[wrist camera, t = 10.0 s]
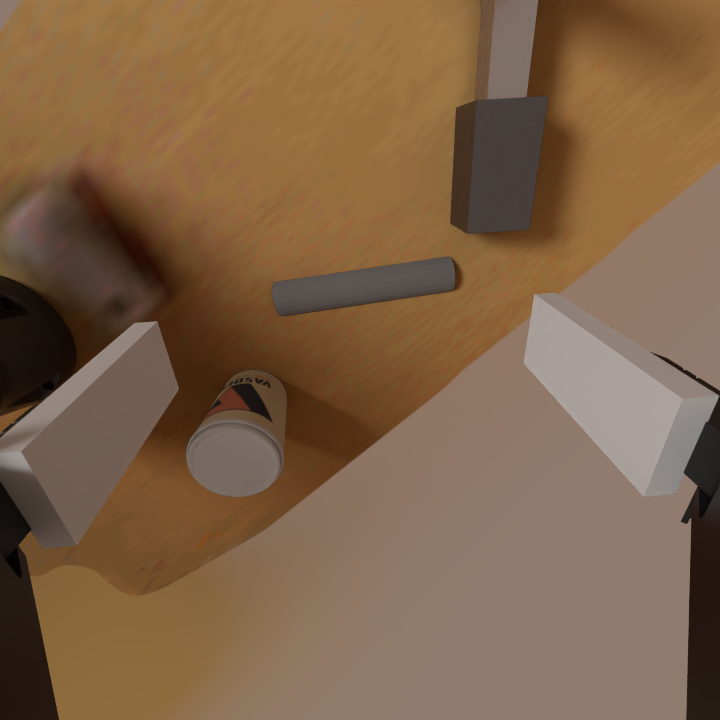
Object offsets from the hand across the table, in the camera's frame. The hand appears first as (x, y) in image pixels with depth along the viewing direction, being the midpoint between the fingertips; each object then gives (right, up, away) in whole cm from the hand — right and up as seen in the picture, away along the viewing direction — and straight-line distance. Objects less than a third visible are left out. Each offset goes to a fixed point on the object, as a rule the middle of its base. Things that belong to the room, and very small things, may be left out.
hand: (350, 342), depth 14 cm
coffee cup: (-13, -5, +35) cm, 37 cm away
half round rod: (+1, +8, +29) cm, 30 cm away
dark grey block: (+12, +18, +24) cm, 32 cm away
